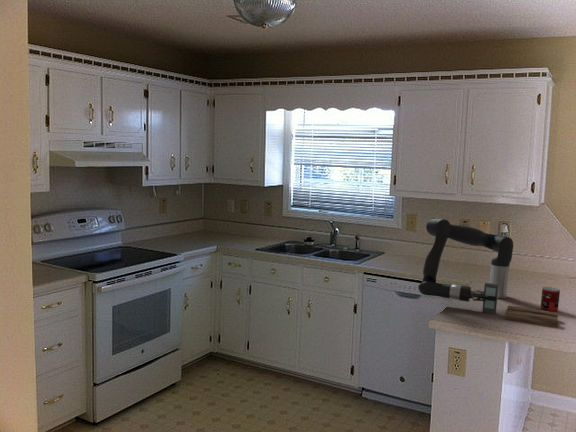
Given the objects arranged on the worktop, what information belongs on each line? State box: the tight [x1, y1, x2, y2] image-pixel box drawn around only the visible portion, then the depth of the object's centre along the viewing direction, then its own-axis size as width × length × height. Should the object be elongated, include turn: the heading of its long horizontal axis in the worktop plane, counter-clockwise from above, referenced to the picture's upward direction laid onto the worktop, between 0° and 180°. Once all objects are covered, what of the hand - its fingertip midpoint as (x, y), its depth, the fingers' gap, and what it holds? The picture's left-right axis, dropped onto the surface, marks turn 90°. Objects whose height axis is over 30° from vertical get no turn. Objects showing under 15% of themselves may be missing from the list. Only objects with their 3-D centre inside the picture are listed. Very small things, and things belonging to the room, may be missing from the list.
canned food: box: [540, 286, 561, 313], centre depth 287 cm, size 8×8×11 cm
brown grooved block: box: [504, 305, 559, 328], centre depth 268 cm, size 13×22×4 cm, turn 64°
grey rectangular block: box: [481, 282, 498, 315], centre depth 277 cm, size 3×6×14 cm, turn 64°
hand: (496, 298), depth 276 cm, fingers open, 3 cm apart
